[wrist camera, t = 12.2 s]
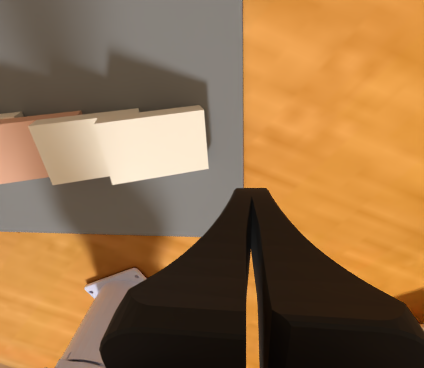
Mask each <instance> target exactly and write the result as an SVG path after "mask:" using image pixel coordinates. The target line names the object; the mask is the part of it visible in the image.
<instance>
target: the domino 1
mask: <svg viewBox="0 0 424 368" xmlns="http://www.w3.org/2000/svg"><path fill="white" fill-rule="evenodd" d="M75 115H83V114H82V111H72V112H63V113H54V114H45V115H36V116H27V117H18V118H9V119H0V184H6V183H12V182H19V181H26V180H33V179H39V178H46V177H49V175H48V173H47V171H46V168H45V166H44V163H43V161H42V159H41V156H40V154H39V152H38V149H37V147H36V144H35V142H34V140H33V137H32V135H31V133H30V130H29V128H28V126H29V125H30V124H32V123H33V122H34V121H36V120H40V119H49V118H57V117H66V116H75Z"/></svg>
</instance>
